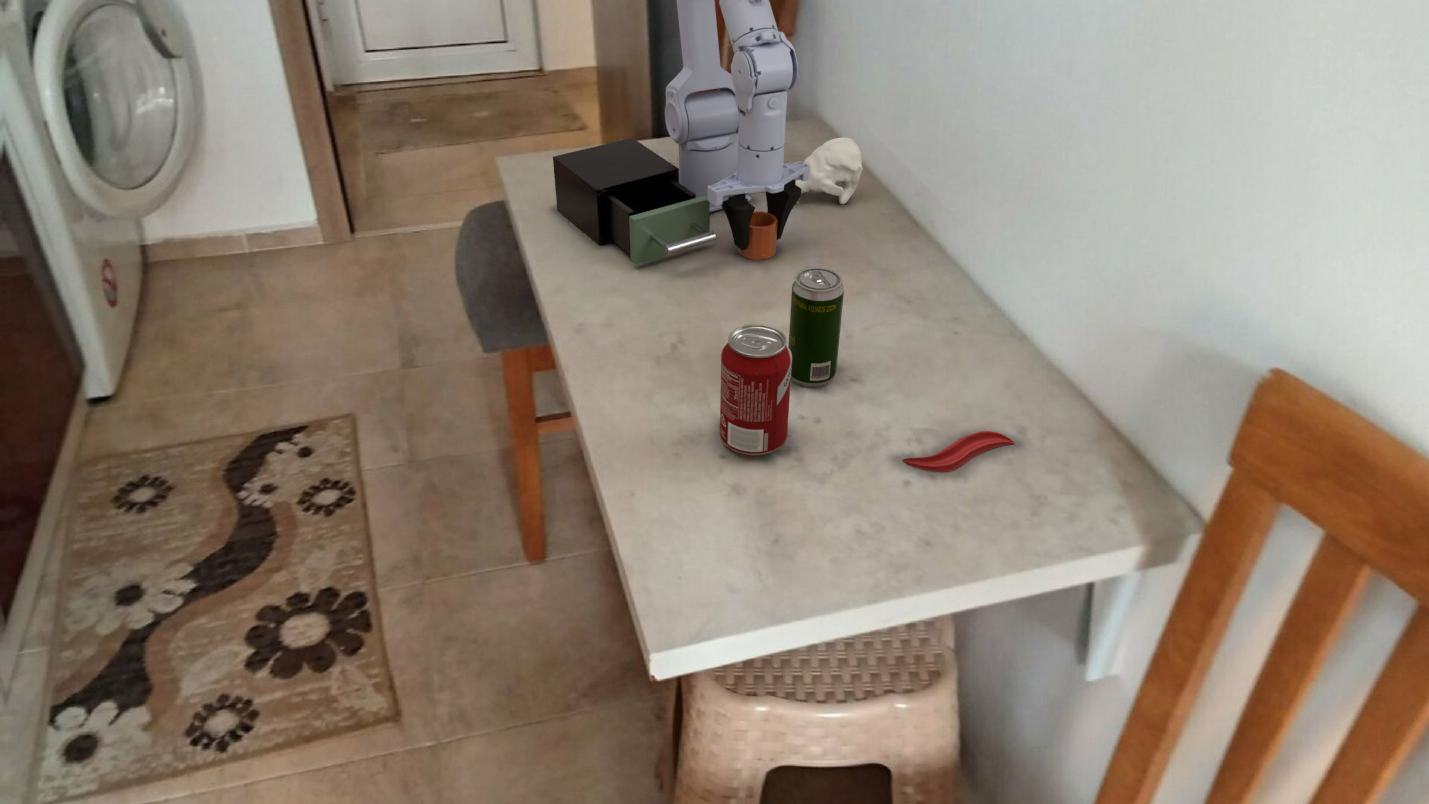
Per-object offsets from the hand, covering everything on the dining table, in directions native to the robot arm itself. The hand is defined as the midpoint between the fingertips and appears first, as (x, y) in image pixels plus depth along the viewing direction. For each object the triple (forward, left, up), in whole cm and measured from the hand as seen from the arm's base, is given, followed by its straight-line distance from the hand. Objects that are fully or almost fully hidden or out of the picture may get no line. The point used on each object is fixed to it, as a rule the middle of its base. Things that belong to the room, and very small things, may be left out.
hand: (757, 241), depth 140 cm
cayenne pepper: (+8, +46, -2) cm, 46 cm away
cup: (0, 0, -1) cm, 1 cm away
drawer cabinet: (+11, -18, -1) cm, 21 cm away
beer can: (+12, +27, -2) cm, 29 cm away
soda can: (+24, +33, -2) cm, 40 cm away
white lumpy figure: (-16, -8, -2) cm, 19 cm away
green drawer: (+10, -7, -1) cm, 13 cm away
